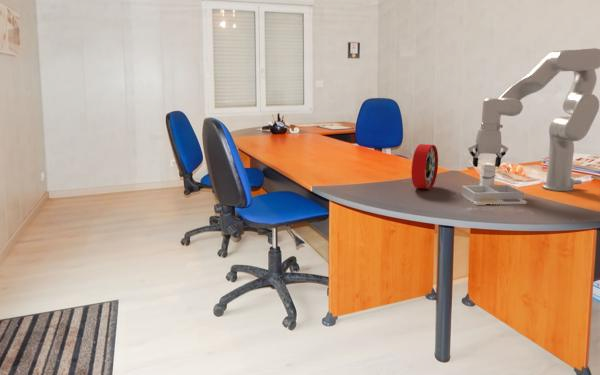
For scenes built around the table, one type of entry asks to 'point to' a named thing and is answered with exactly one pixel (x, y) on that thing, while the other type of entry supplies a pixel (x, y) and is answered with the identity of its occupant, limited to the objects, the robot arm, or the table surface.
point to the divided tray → (493, 194)
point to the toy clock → (424, 166)
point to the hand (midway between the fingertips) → (486, 166)
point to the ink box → (487, 173)
